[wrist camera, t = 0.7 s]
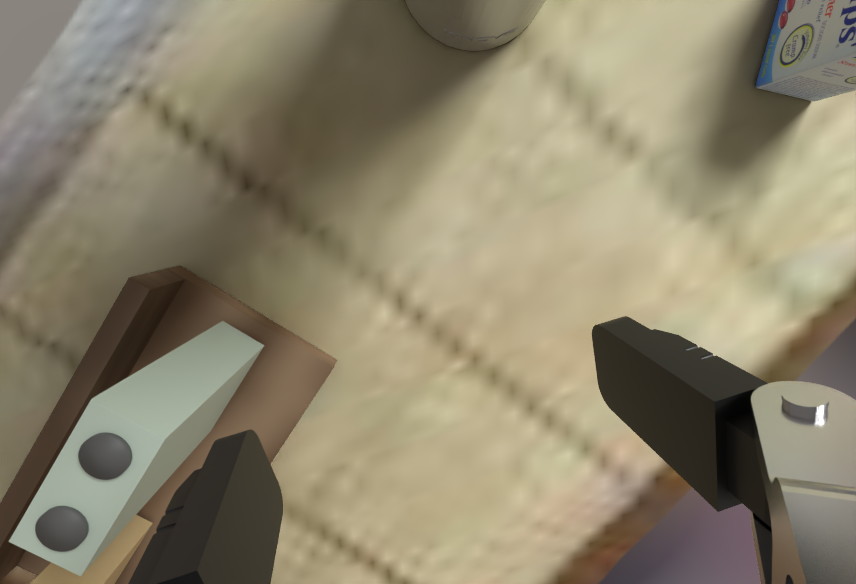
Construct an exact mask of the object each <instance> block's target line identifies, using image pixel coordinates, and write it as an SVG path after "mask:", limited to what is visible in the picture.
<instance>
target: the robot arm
mask: <svg viewBox="0 0 856 584" xmlns="http://www.w3.org/2000/svg"><path fill="white" fill-rule="evenodd" d="M545 1H546V0H405V2H406V4H407V7H408V9H409V11H410V13H411V14H412V15H413V17H414V18H415V20H416V21H417V22H418V24H419V25H420V26H421V27H422V28H423V29H424V30H425V31H426V32H427V33H428V34H429V35H431V36H432V37H433V38H435V39H437V40H438V41H440V42H442V43H443V44H445V45H448V46H451V47H454V48H457V49H460V50H470V51H479V50H486V49H492V48H495V47H497V46H500V45H503V44H505V43H507V42H509V41H510V40H512V39H513V38H515V37H516V36H518V35H519V34H520V33H521V32H522V31H523V30H524V29H525V28H526V27H527V26H528V25H529V24H530V23H531V22H532V20H533V19H534V17H535V15H536V14H537V12H538V11H539V10H540V8H541V7H542V5H543V4H544V2H545ZM592 340H593V348H594V355H595V363H596V371H597V379H598V385H599V389H600V392H601V394H602V397H603V399H604V401H605V402H606V404H607V405H608V407H609V408H610V409H611V410H612V411H613V412H614V413H615V414H616V415H617V416H618V417H619V418H620V419H621V420H622V421H624V422H625V423H626V424H627V425H628V426H629V427H630V428H631V429H632V430H633V431H634V432H635V433H636V434H637V435H638V436H639V437H640V438H641V439H642V440H643V441H644V442H646V443H647V444H648V445H649V446H650V447H651V448H652V449H653V450H654V451H655V452H656V453H657V454H658V455H659V456H660V457H661V458H662V459H663V460H664V461H665V462H666V463H667V464H669V465H670V466H671V467H672V468H673V469H674V470H675V471H676V472H677V473H678V474H679V475H680V476H681V477H682V478H683V479H684V480H685V481H686V482H687V483H688V484H689V485H691V486H692V487H693V488H694V489H695V490H696V491H697V492H698V493H699V494H700V495H701V496H702V497H703V498H704V499H705V500H706V501H707V502H708V503H709V504H710V505H711V506H712V507H714V508H715V509H716V510H717V511H721V510H724V509H727V508H730V507H733V506H735V505H738V504H741V503H743V504H744V505H745V506H746V507H747V508H748V509H750V510H751V528H752V533H753V540H754V545H755V551H756V557H757V563H758V569H759V575H760V580H761V584H856V401H855V400H854V399H853V398H851V397H849V396H848V395H846V394H844V393H842V392H840V391H838V390H835V389H833V388H829V387H826V386H823V385H819V384H814V383H808V382H799V381H781V382H774V383H769V384H768V383H766V382H765V381H763V380H761V379H759V378H757V377H755V376H753V375H752V374H750V373H748V372H746V371H744V370H742V369H740V368H739V367H737V366H735V365H733V364H731V363H729V362H727V361H726V360H724V359H722V358H720V357H718V356H713V353H711V352H709V351H707V350H705V349H703V348H701V347H699V348H698V347H697V345H696V344H694V343H692V342H690V341H688V340H687V339H685V338H683V337H681V336H679V335H676V334H672V333H668V332H664V331H660V330H656V329H654V330H650V329H649V328H647V327H645V326H643V325H642V324H640V323H638V322H636V321H635V320H633V319H631V318H629V317H626V316H625V317H621V318H618V319H614V320H611V321H608V322H604V323H601V324H598V325H595V326H594V327H593V330H592ZM282 515H283V500H282V494H281V490H280V486H279V484H278V481H277V479H276V476H275V474H274V472H273V470H272V467H271V465H270V463H269V460H268V458H267V456H266V453H265V451H264V449H263V446H262V444H261V442H260V440H259V437H258V436H257V434H256V433H255V431H253V430H252V429H250V430H246V431H243V432H240V433H236V434H233V435H230V436H227V437H223V438H220V439H217V440H215V441H214V443H213V445H212V447H211V449H210V451H209V453H208V455H207V458H206V460H205V462H204V464H203V466H202V468H201V469H197V470H194V471H193V472H192V474H191V475H190V476H189V477H188V478H187V479H186V480H185V481H184V482H183V483H182V484H181V486H180V487H179V488H178V489H177V490H176V491H175V493H174V495H173V497H172V499H171V501H170V503H169V505H168V507H167V509H166V511H165V515H164V516H162V518H161V520H160V522H159V524H158V526H157V528H156V533H155V534H153V536H152V538H151V540H150V542H149V544H148V546H147V548H146V550H145V552H144V554H143V556H142V558H141V560H140V562H139V564H138V566H137V567H136V569H135V571H134V573H133V575H132V577H131V579H130V581H129V583H128V584H270V583H271V577H272V571H273V566H274V560H275V554H276V549H277V543H278V538H279V532H280V526H281V521H282Z"/></svg>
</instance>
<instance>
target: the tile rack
mask: <svg viewBox="0 0 856 584" xmlns="http://www.w3.org/2000/svg"><path fill="white" fill-rule="evenodd" d="M222 321H224V322H226V323H227V324H229V325H231V326H232V327H234V328H236V329H237V330H239V331H241V332H243V333H244V334H246V335H248V336H249V337H251V338H253V339H254V340H256V341H258V342H259V343H261V344H263V345H264V347H263V349H262V350H261V352H260V353H259V355H258V357H257V358H256V360H255V361H254V363H253V365H252V366H251V368H250V369H249V371H248V373H247V374H246V376H245V377H244V379H243V380H242V382H241V384H240V385H239V387H238V388H237V390H236V392H235V393H234V395H233V396H232V398H231V400H230V401H229V403H228V404H227V406H226V408H225V409H224V411H223V412H222V414H221V415H220V417H219V419H218V420H217V422H216V423H215V425H214V427H213V428H212V430H211V431H210V432H209V434H208V435H207V436H206V437H205V438H204V439H203V440H202V441H201V443H200V444H199V445H198V446H197V447H196V448H195V449H194V450H193V451H192V453H191V454H190V455H189V456H188V457H187V458H186V459H185V460H184V462H183V463H182V464H181V465H180V466H179V467H178V468H177V469H176V471H175V472H174V473H173V474H172V475H171V476H170V477H169V478H168V479H167V481H166V482H165V483H164V484H163V485H162V486H161V487H160V488H159V490H158V491H157V492H156V493H155V494H154V495H153V496H152V497H151V499H150V500H149V501H148V502H147V503H146V504H145V505H144V506H143V507H142V509H141V510H140V511H139V512H138V513H137V514H136V515H138V516H140V517H142V518H144V519H146V520H148V521H150V522H152V523H153V524H152V525H151V527H150V529H149V530H148V532H147V533H146V535H145V536H144V538H143V540H142V541H141V543H140V544H139V546H138V548H137V549H136V551H135V552H134V554H133V556H132V557H131V559H130V560H129V562H128V564H127V565H126V567H125V568H124V570H123V571H122V573H121V575H120V576H119V578H118V579H117V581H116V583H115V584H128V583H129V581H130V579H131V577H132V575H133V573H134V571H135V569H136V567H137V566H138V564H139V562H140V560H141V558H142V556H143V554H144V552H145V550H146V548H147V546H148V544H149V542H150V540H151V538H152V536H153V534H155V533H156V528H157V526H158V524H159V522H160V520H161V518H162V516H164V515H165V511H166V509H167V507H168V505H169V503H170V501H171V499H172V497H173V495H174V493H175V491H176V490H177V489H178V488H179V487H180V486H181V484H182V483H183V482H184V481H185V480H186V479H187V478H188V477H189V476H190V475H191V474H192V472H193V471H194V470H197V469H201V468H202V466H203V464H204V462H205V460H206V458H207V455H208V453H209V451H210V449H211V447H212V445H213V443H214V441H215V440H217V439H220V438H223V437H227V436H230V435H233V434H236V433H240V432H243V431H246V430H250V429H252V430H253V431H255V433H256V434H257V436H258V437H259V440H260V442H261V444H262V446H263V449H264V451H265V453H266V456H267V458H268V460H269V463H270V464H271V462H272V461H273V459H274V458H275V456H276V455H277V453H278V452H279V450H280V448H281V447H282V445H283V444H284V442H285V441H286V439H287V438H288V436H289V435H290V433H291V432H292V430H293V429H294V427H295V426H296V424H297V423H298V421H299V420H300V418H301V416H302V415H303V413H304V412H305V410H306V409H307V407H308V406H309V404H310V403H311V401H312V400H313V398H314V397H315V395H316V394H317V392H318V391H319V389H320V388H321V386H322V384H323V383H324V381H325V380H326V378H327V377H328V375H329V374H330V372H331V371H332V369H333V368H334V366H335V364H336V361H337V360H336V359H335V358H333V357H331V356H330V355H328V354H326V353H325V352H323V351H321V350H320V349H318V348H316V347H315V346H313V345H311V344H310V343H308V342H306V341H305V340H303V339H301V338H300V337H298V336H296V335H295V334H293V333H291V332H290V331H288V330H286V329H285V328H283V327H281V326H280V325H278V324H276V323H275V322H273V321H271V320H270V319H268V318H266V317H265V316H263V315H261V314H260V313H258V312H256V311H255V310H253V309H251V308H250V307H248V306H246V305H245V304H243V303H242V302H240V301H238V300H237V299H235V298H233V297H232V296H230V295H228V294H227V293H225V292H223V291H222V290H220V289H218V288H217V287H215V286H213V285H212V284H210V283H208V282H207V281H205V280H203V279H202V278H200V277H198V276H197V275H195V274H193V273H192V272H190V271H188V270H187V269H185V268H183V267H182V266H176V267H172V268H168V269H163V270H159V271H155V272H151V273H147V274H142V275H138V276H134V277H130V278H129V279H128V280H127V282H126V284H125V286H124V287H123V289H122V291H121V293H120V294H119V296H118V298H117V300H116V301H115V303H114V305H113V307H112V308H111V310H110V312H109V314H108V315H107V317H106V319H105V321H104V322H103V324H102V326H101V328H100V329H99V331H98V333H97V335H96V336H95V338H94V340H93V342H92V343H91V345H90V347H89V349H88V351H87V352H86V354H85V356H84V358H83V359H82V361H81V363H80V365H79V366H78V368H77V370H76V372H75V373H74V375H73V377H72V379H71V380H70V382H69V384H68V386H67V387H66V389H65V391H64V393H63V394H62V396H61V398H60V400H59V401H58V403H57V405H56V407H55V408H54V410H53V412H52V414H51V415H50V417H49V419H48V421H47V423H46V424H45V426H44V428H43V430H42V431H41V433H40V435H39V437H38V438H37V440H36V442H35V444H34V445H33V447H32V449H31V451H30V452H29V454H28V456H27V458H26V459H25V461H24V463H23V465H22V466H21V468H20V470H19V472H18V473H17V475H16V477H15V479H14V480H13V482H12V484H11V486H10V488H9V489H8V491H7V493H6V495H5V496H4V498H3V500H2V502H1V503H0V580H1V579H3V578H4V577H5V576H6V575H7V574H8V573H9V572H10V571H11V570H12V569H14V568H15V567H16V566H19V567H21V568H23V569H25V570H28V571H30V572H32V573H34V574H36V575H39V574H40V573H41V572H42V571H43V570H44V569H45V568H46V567H47V566H48V565H49V564H50V563H51V562H50V561H47V560H45V559H43V558H41V557H39V556H37V555H35V554H33V553H31V552H29V551H27V550H25V549H23V548H20V547H18V546H16V545H14V544H12V543H10V542H9V540H10V538H11V537H12V535H13V533H14V531H15V530H16V528H17V526H18V525H19V523H20V521H21V519H22V518H23V516H24V514H25V513H26V511H27V509H28V507H29V506H30V504H31V502H32V500H33V499H34V497H35V495H36V494H37V492H38V490H39V488H40V487H41V485H42V483H43V481H44V480H45V478H46V476H47V475H48V473H49V471H50V469H51V468H52V466H53V464H54V463H55V461H56V459H57V457H58V456H59V454H60V452H61V450H62V449H63V447H64V445H65V444H66V442H67V440H68V438H69V437H70V435H71V433H72V432H73V430H74V428H75V426H76V425H77V423H78V421H79V419H80V418H81V416H82V414H83V413H84V411H85V409H86V407H87V406H88V404H89V402H90V400H91V399H92V398H94V397H95V396H97V395H99V394H100V393H102V392H104V391H105V390H107V389H109V388H110V387H112V386H114V385H115V384H117V383H119V382H121V381H122V380H124V379H126V378H127V377H129V376H131V375H132V374H134V373H136V372H137V371H139V370H141V369H142V368H144V367H146V366H147V365H149V364H151V363H153V362H154V361H156V360H158V359H159V358H161V357H163V356H164V355H166V354H168V353H169V352H171V351H173V350H174V349H176V348H178V347H179V346H181V345H183V344H184V343H186V342H188V341H190V340H191V339H193V338H195V337H196V336H198V335H200V334H201V333H203V332H205V331H206V330H208V329H210V328H211V327H213V326H215V325H216V324H218V323H220V322H222Z"/></svg>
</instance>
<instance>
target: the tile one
mask: <svg viewBox="0 0 856 584" xmlns="http://www.w3.org/2000/svg"><path fill="white" fill-rule="evenodd" d="M152 524H153V523H152V522H150V521H148V520H146V519H144V518H142V517H140V516H138V515H135V516H134V518H133V519H132V520H131V521H130V522H129V523H128V524H127V525H126V527H125V528H124V529H123V530H122V531H121V532H120V533H119V534H118V535H117V537H116V538H115V539H114V540H113V541H112V542H111V543H110V544H109V546H108V547H107V548H106V549H105V550H104V551H103V552H102V553H101V555H100V556H99V557H98V558H97V559H96V560H95V561H94V562H93V563H92V565H91V566H90V567H89V568H88V569H87V570H86V571H85V572H84V574H83V575H82V576H79V575H77V574H74V573H72V572H70V571H68V570H66V569H64V568H62V567H60V566H58V565H56V564H54V563H52V562H51V563H50V564H49V565H48V566H47V567H46V568H45V569H44V570H43V571H42V572H41V573H40V574H39V575H38V576H37V577H36V578H35V579H34V580H33V581H32V582H31V583H30V584H115V583H116V581H117V579H118V578H119V576H120V575H121V573H122V571H123V570H124V568H125V567H126V565H127V564H128V562H129V560H130V559H131V557H132V556H133V554H134V552H135V551H136V549H137V548H138V546H139V544H140V543H141V541H142V540H143V538H144V536H145V535H146V533H147V532H148V530H149V529H150V527H151V525H152Z"/></svg>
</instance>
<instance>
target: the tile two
mask: <svg viewBox="0 0 856 584" xmlns="http://www.w3.org/2000/svg"><path fill="white" fill-rule="evenodd" d="M263 347H264V345H263V344H261V343H259V342H258V341H256V340H254V339H253V338H251V337H249V336H248V335H246V334H244V333H243V332H241V331H239V330H237V329H236V328H234V327H232V326H231V325H229V324H227V323H226V322H224V321H222V322H220V323H218V324H216V325H215V326H213V327H211V328H210V329H208V330H206V331H205V332H203V333H201V334H200V335H198V336H196V337H195V338H193V339H191V340H190V341H188V342H186V343H184V344H183V345H181V346H179V347H178V348H176V349H174V350H173V351H171V352H169V353H168V354H166V355H164V356H163V357H161V358H159V359H158V360H156V361H154V362H153V363H151V364H149V365H147V366H146V367H144V368H142V369H141V370H139V371H137V372H136V373H134V374H132V375H131V376H129V377H127V378H126V379H124V380H122V381H121V382H119V383H117V384H115V385H114V386H112V387H110V388H109V389H107V390H105V391H104V392H102V393H100V394H99V395H97V396H95V397H94V398H92V399H91V400H90V402H89V404H88V406H87V407H86V409H85V411H84V413H83V414H82V416H81V418H80V419H79V421H78V423H77V425H76V426H75V428H74V430H73V432H72V433H71V435H70V437H69V438H68V440H67V442H66V444H65V445H64V447H63V449H62V450H61V452H60V454H59V456H58V457H57V459H56V461H55V463H54V464H53V466H52V468H51V469H50V471H49V473H48V475H47V476H46V478H45V480H44V481H43V483H42V485H41V487H40V488H39V490H38V492H37V494H36V495H35V497H34V499H33V500H32V502H31V504H30V506H29V507H28V509H27V511H26V513H25V514H24V516H23V518H22V519H21V521H20V523H19V525H18V526H17V528H16V530H15V531H14V533H13V535H12V537H11V538H10V540H9V542H10V543H12V544H14V545H16V546H18V547H20V548H23V549H25V550H27V551H29V552H31V553H33V554H35V555H37V556H39V557H41V558H43V559H45V560H47V561H50V562H52V563H54V564H56V565H58V566H60V567H62V568H64V569H66V570H68V571H70V572H72V573H74V574H77V575H79V576H82V575H83V574H84V572H85V571H86V570H87V569H88V568H89V567H90V566H91V565H92V563H93V562H94V561H95V560H96V559H97V558H98V557H99V556H100V555H101V553H102V552H103V551H104V550H105V549H106V548H107V547H108V546H109V544H110V543H111V542H112V541H113V540H114V539H115V538H116V537H117V535H118V534H119V533H120V532H121V531H122V530H123V529H124V528H125V527H126V525H127V524H128V523H129V522H130V521H131V520H132V519H133V518H134V516H135V515H136V514H137V513H138V512H139V511H140V510H141V509H142V507H143V506H144V505H145V504H146V503H147V502H148V501H149V500H150V499H151V497H152V496H153V495H154V494H155V493H156V492H157V491H158V490H159V488H160V487H161V486H162V485H163V484H164V483H165V482H166V481H167V479H168V478H169V477H170V476H171V475H172V474H173V473H174V472H175V471H176V469H177V468H178V467H179V466H180V465H181V464H182V463H183V462H184V460H185V459H186V458H187V457H188V456H189V455H190V454H191V453H192V451H193V450H194V449H195V448H196V447H197V446H198V445H199V444H200V443H201V441H202V440H203V439H204V438H205V437H206V436H207V435H208V434H209V432H210V431H211V430H212V428H213V427H214V425H215V423H216V422H217V420H218V419H219V417H220V415H221V414H222V412H223V411H224V409H225V408H226V406H227V404H228V403H229V401H230V400H231V398H232V396H233V395H234V393H235V392H236V390H237V388H238V387H239V385H240V384H241V382H242V380H243V379H244V377H245V376H246V374H247V373H248V371H249V369H250V368H251V366H252V365H253V363H254V361H255V360H256V358H257V357H258V355H259V353H260V352H261V350H262V349H263Z"/></svg>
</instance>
